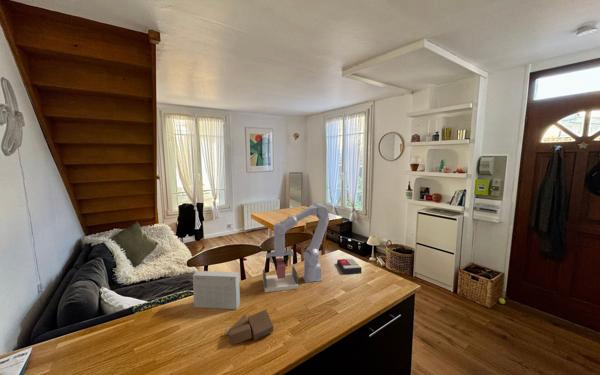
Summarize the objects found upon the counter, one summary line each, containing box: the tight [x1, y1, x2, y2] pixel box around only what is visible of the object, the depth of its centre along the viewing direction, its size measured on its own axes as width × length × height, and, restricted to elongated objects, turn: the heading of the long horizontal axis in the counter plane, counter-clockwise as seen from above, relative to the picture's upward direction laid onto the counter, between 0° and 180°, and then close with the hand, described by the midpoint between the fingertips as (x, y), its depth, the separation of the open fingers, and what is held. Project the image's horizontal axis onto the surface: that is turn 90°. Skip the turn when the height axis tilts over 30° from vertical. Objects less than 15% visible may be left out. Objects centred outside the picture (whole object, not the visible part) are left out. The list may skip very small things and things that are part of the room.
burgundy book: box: [275, 257, 286, 279], centre depth 136 cm, size 4×10×7 cm, turn 13°
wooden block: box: [225, 308, 274, 346], centre depth 100 cm, size 8×13×18 cm
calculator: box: [336, 258, 362, 275], centre depth 157 cm, size 11×4×15 cm
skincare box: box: [192, 270, 241, 310], centre depth 117 cm, size 21×5×16 cm, turn 84°
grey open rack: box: [262, 266, 300, 293], centre depth 137 cm, size 18×14×6 cm
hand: (280, 268), depth 136 cm, fingers closed on burgundy book, 4 cm apart
